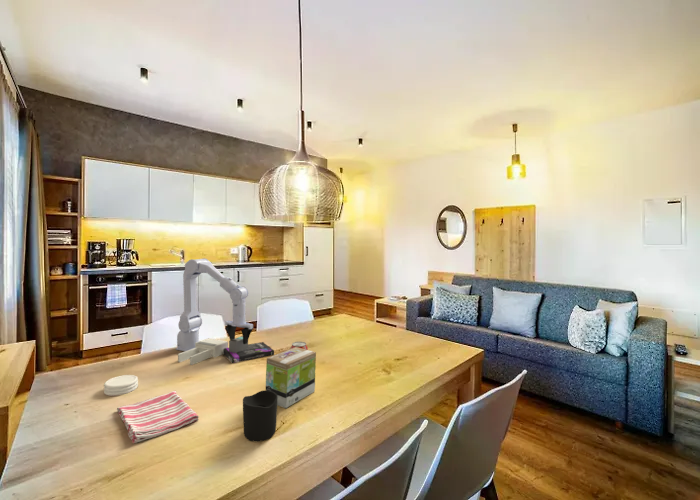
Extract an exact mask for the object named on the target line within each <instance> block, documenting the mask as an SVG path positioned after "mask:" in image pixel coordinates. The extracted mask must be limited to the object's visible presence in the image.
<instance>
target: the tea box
mask: <svg viewBox="0 0 700 500" xmlns="http://www.w3.org/2000/svg"><path fill="white" fill-rule="evenodd" d="M316 361H317V352H316V351H314V350H309V349H308V350H306V349H302V348H298V347H295V348H292V349H290V348H289V349H287V350H284V351H282V352H279V353H276V354H274V355H271V356H267V357H266V366H265V367H266V371H265V390H267V391H272V392H275V393H276V394H277V396H278V400H277V407H281V408H284V409H288V407H290V406H292V405H293V404H295V403H297V402H299V401H300V400H302V399H304V398H306V397H307V396H309V395H311V394H313V393H315V389H316V367H317V366H316V363H317V362H316Z"/></svg>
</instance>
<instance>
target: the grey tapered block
mask: <svg viewBox="0 0 700 500" xmlns="http://www.w3.org/2000/svg"><path fill="white" fill-rule="evenodd" d="M248 344H249V342H248V343H247V344H243V335H241V336H238V337H235V339H231V340H230V339H229V340H228V348H229V352H233V353H237V352H239V351H242V350H244V349H246V348H248Z"/></svg>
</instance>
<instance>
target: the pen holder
mask: <svg viewBox="0 0 700 500" xmlns="http://www.w3.org/2000/svg"><path fill="white" fill-rule="evenodd" d="M277 400H278V396H277V394H276V393H275V392H272V391H267V390H266V389H264V390H260V391H257V392H256V393H254V394H252V395H245V396H243V398H242V417H243V418H242V419H243V423H242V424H243V436H244V437H245V439H247V440H248V441H250V442H253V443H257V442H264V441H267V440H269V439H271V438H272V437H273V436H274V435H275V433H276V431H277V430H276V429H277V421H278V420H277V418H278V417H277V415H278V405H277Z"/></svg>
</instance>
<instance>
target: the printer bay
mask: <svg viewBox="0 0 700 500" xmlns="http://www.w3.org/2000/svg"><path fill="white" fill-rule="evenodd" d="M224 348H229V340H228V341H226V340H221V339H215V338H210V337H208V338H206V339H201V340H199V342H196V343H195V348H193V349H191V350H188V351H183V352H180V353H178V354H177V363H182V362H184V361H187V360H189V366H190V365H191V366H193V365H195V364H198V363H200V362H203V361H205V360H207V359H209V358H216V357H217V358H218V357H219V356H222V355H224V354H223V353H224V351H223V349H224Z"/></svg>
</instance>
